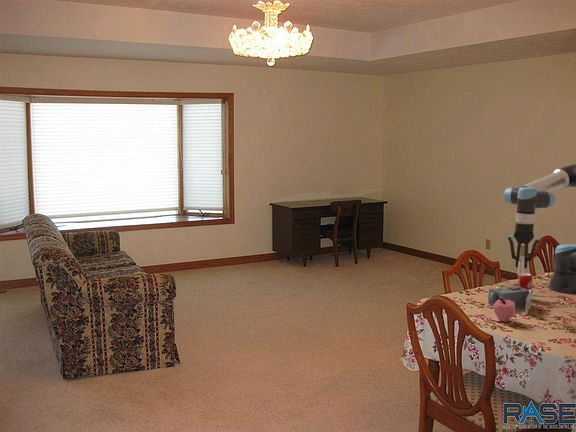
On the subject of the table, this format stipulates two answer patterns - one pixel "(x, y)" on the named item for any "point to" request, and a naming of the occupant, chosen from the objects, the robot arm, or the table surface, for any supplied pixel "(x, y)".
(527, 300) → the side door
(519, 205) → the robot arm
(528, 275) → the beverage can
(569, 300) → the table surface
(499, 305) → the apple
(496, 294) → the grey knobbed block
